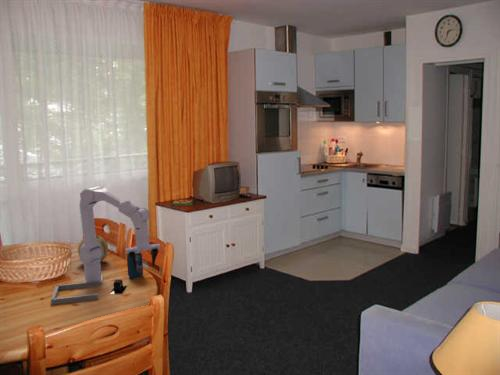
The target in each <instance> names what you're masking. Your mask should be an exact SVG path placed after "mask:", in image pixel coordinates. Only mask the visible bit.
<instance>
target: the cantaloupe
mask: <svg viewBox="0 0 500 375" xmlns="http://www.w3.org/2000/svg"><path fill="white" fill-rule="evenodd" d="M96 240H97V241H98V242H99V243H100V244H101V248H102V250H103V256H102V258H101V261H100V263H101V262H102V261H104V260H105V259H106V257H107V255H108V251H109V246H108V242H107V241H106V240H105V239H104V238H103V237H102V236H100V235H99V234H96ZM83 243H84V238H82V239H81V240H80V242H79V244H78V248H77V253H78V256H80V248H81V246H82V245H83Z"/></svg>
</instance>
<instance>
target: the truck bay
mask: <svg viewBox="0 0 500 375" xmlns="http://www.w3.org/2000/svg"><path fill="white" fill-rule="evenodd" d="M100 284H101V283H100V281H92V282H84V281H82V282H75V283H73V282H72V283H65V284H64V283H63V284H56V285H55V287H54V290H53V293H52V295H51V299H50V303H51V305H59V304H67V303H69V304H70V303H76V302H85V301H94V300H95V301H96V300H99V293H92V294H91V293H90V294H84V295H83V294H82V295H74V296H64V297H63V296H62V297H58V295H59V292H60V291H63V290H72V289H74V290H75V289H83V288H92V287H93V288H94V287H100Z"/></svg>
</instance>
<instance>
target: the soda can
mask: <svg viewBox="0 0 500 375" xmlns="http://www.w3.org/2000/svg"><path fill="white" fill-rule="evenodd" d="M134 253H135V255H136V266H137V269H135V268H134V264H133V261H132V259H131V257H130V255H129V254H126V262H127V263H126V264H127V266H126V267H127V276H128V277H129V278H130V279H133V280H134V279H140V278H142V277H143V274H144V267H143V266H144V264H143V254H142V251H140V252H134Z"/></svg>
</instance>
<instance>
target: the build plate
mask: <svg viewBox="0 0 500 375" xmlns="http://www.w3.org/2000/svg"><path fill="white" fill-rule="evenodd" d="M127 288H128V285H124V283H123V279H115V280H114V281H113V288H112V290H111V291H110V292H109V294H110V295H112V294H113V295H117V294H119V295H121V294H124V292H125V290H126V289H127Z"/></svg>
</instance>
